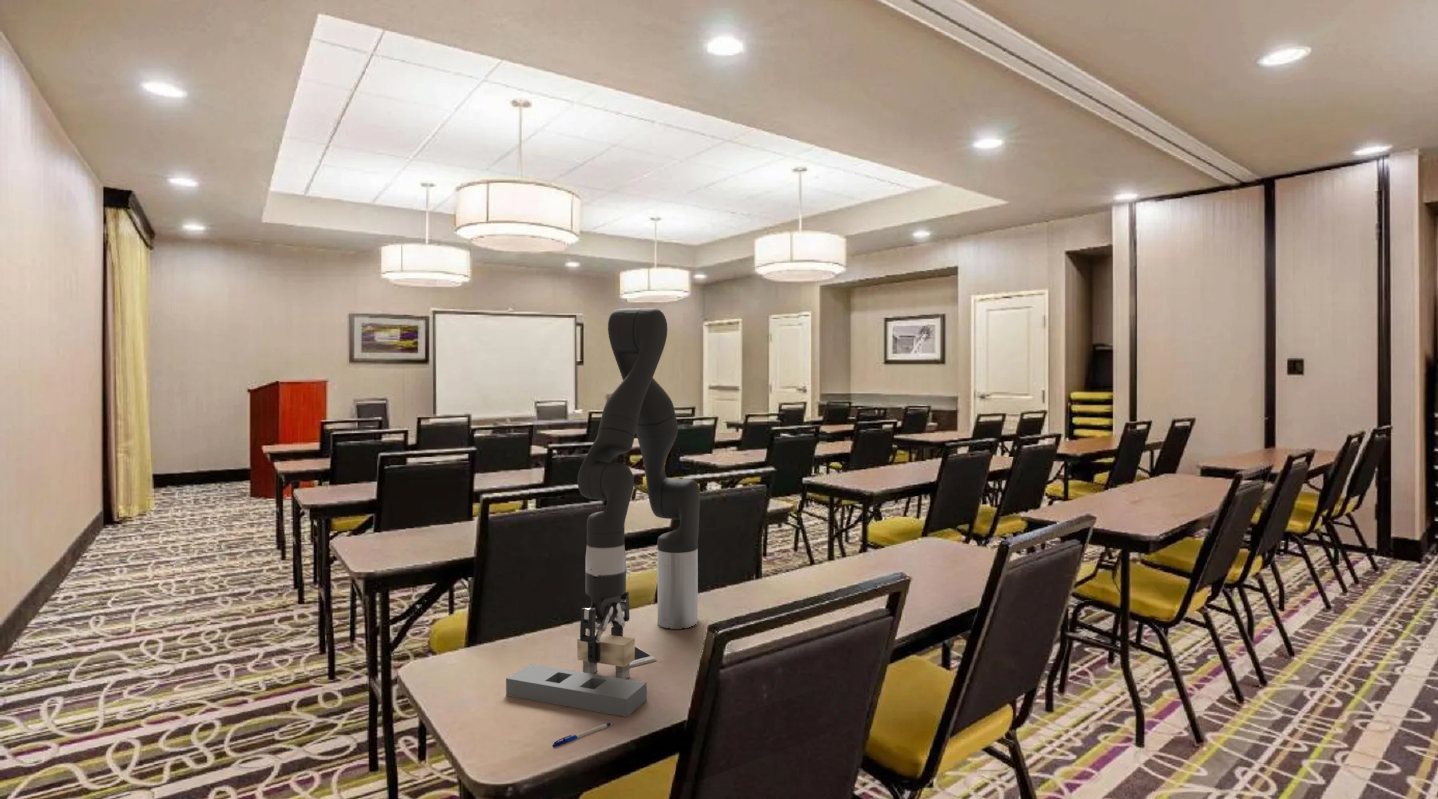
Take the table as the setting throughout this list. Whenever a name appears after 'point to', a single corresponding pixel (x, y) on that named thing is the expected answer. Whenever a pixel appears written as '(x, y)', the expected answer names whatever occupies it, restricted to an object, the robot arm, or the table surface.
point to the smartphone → (641, 657)
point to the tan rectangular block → (610, 654)
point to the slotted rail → (577, 689)
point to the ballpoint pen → (579, 735)
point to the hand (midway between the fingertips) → (605, 654)
